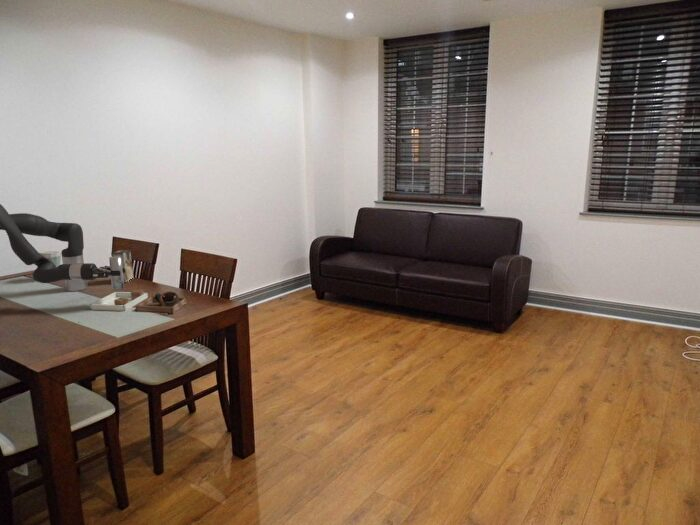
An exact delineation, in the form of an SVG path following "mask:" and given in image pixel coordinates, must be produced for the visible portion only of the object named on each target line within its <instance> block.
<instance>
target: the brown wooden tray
mask: <svg viewBox="0 0 700 525" xmlns="http://www.w3.org/2000/svg"><path fill="white" fill-rule="evenodd" d="M154 297H155V296H150V297H148V298H146V299H145V300H143V301H141V302H140V303H138V304H136V305H135V311H136V312H155V313H157V312H158V313H174V312H175V311H176V310H178V309H179V308H180V307H182V306H183V305H184V304H186V303H187V304H188V298H187V297H179V298H178V299H179V301H180V302H178V303H177V304H176V305H174V306H173V307H162V306H157V305H156V306H153V305H151V306H149V305H150V304H152V303H153V302H156V303H158V302H157V301H156V300H155V298H154ZM175 298H176V296H174V299H175ZM182 308H183V307H182ZM178 311H179V310H178ZM175 313H176V312H175ZM175 313H174V314H175Z"/></svg>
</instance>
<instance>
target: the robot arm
mask: <svg viewBox="0 0 700 525" xmlns="http://www.w3.org/2000/svg"><path fill="white" fill-rule="evenodd" d="M1 230H2V231H5V232H6V234H7V236H8V237H7V238H8V242H9V244H10V247H11V250H12V251H13V253H14V254H15V255H16V257H17V258H19V259H20V260H21V261H22V262H23V264H25V265H26V266H32V265H35V266H36V268H35V270H34V271H33V272H32V278H33V280H34V281H36V282H37V283H40V284H50V283H55V282H59V281H63V280H64V284H65V291H67V292H77V291H84V290H85V289H87V288H88V281H95V280H96V279H101V278H109V277H110V278H111V275H112V276H120V275H121V272H120V271H110V265H104V266H99V267H97V264H95V263H89V262H88V263H85V261H84V253H83V252H84V248H85V247H84V246H85V245H84V244H85V243H84V232H83V231H84V230H83V228H82V226H81V225H80V224H78V223H74V222H54V221H50V220H48V219H46V218H45V217H42V216H40V215H37V214H32V213H28V212H27V213H24V212H22V213H21V212H20V213H9V212H8V211H7V209H6V208H5V206H3V205H2V204H1V203H0V231H1ZM24 235H30V236H36V237H48V238H51V239H55V240H57V241H60V242H67V247H66V248H64V249H62V250H61V252H60V253H61V260H62V262H61V263H60V265H59V266H58V267H56V266H55V264H54V263H53V262H52V261H51V260H49V259H47V258H46V257H44V256H43V255H41V254H40V252H39V251H38V250H37V249H36V248H35V247H34V246H33V245H32V244H31V243H30V242H29V240H28V239H27V238H26V237H25V236H24ZM123 273H125V268H123Z"/></svg>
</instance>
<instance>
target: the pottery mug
mask: <svg viewBox="0 0 700 525" xmlns="http://www.w3.org/2000/svg"><path fill="white" fill-rule="evenodd" d="M153 297H154V298H155V300H156V301H157V302H156V303H158V304H159V306H161V307H173V306H174V305H176V304H177V303H179V302H180V301H179V299H178V298H180V296H179V295H178V294H177V292H174V291H171V290H168V291H164V292H162V293H156V294H154V296H153ZM174 297H176V298H175V299H174Z"/></svg>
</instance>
